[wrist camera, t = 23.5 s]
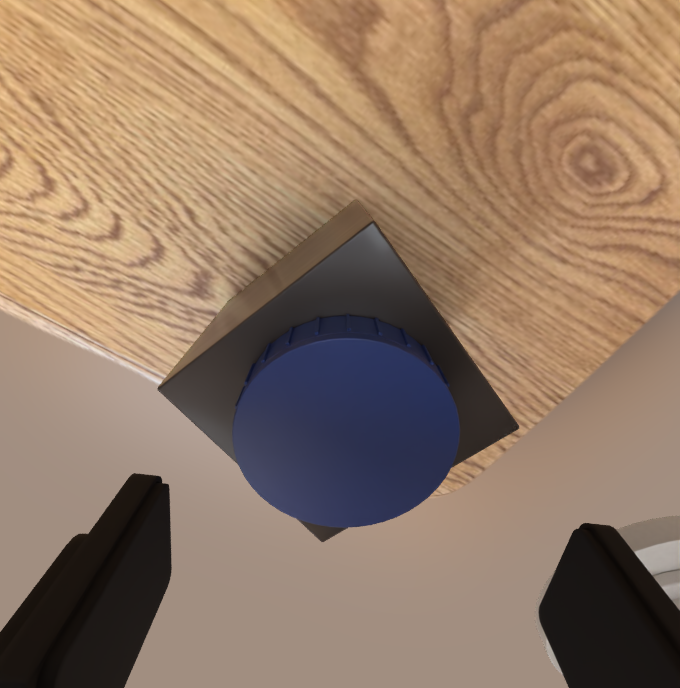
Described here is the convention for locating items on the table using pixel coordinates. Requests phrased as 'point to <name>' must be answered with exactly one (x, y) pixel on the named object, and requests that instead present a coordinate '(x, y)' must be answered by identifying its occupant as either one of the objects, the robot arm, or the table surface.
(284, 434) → the lid
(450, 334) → the stand
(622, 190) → the table surface
